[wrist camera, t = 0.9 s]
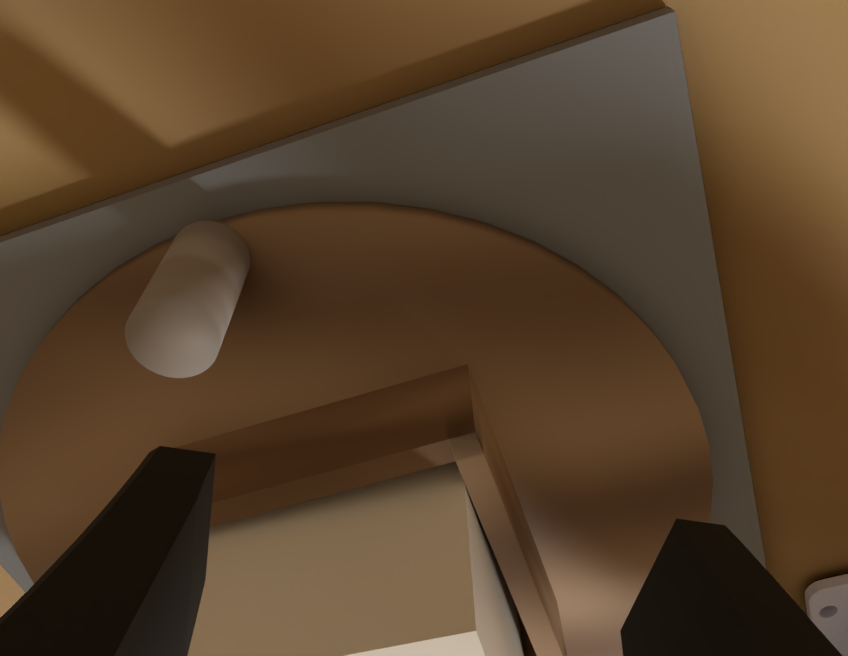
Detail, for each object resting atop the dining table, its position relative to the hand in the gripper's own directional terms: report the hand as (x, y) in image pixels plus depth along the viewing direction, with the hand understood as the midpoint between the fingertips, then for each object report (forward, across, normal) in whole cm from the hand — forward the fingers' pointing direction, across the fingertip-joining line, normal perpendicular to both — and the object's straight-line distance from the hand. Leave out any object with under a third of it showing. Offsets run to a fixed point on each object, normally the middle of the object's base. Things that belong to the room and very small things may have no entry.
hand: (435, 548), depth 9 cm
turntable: (+9, 0, +8) cm, 13 cm away
